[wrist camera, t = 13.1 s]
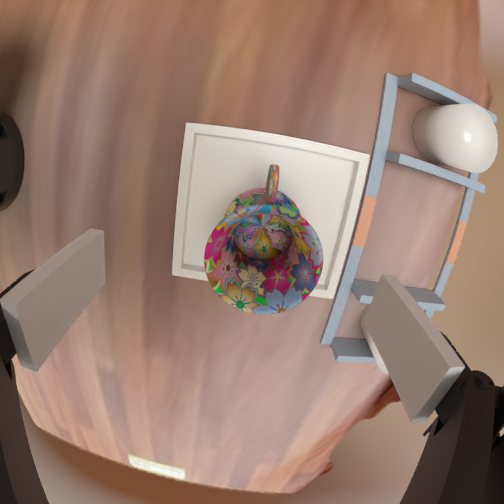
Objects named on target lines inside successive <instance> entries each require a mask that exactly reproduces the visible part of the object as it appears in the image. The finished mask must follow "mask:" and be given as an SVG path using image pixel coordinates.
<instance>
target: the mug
mask: <svg viewBox="0 0 504 504" xmlns="http://www.w3.org/2000/svg"><path fill="white" fill-rule="evenodd" d="M278 183H279V166H278V165H275V164H271V165H270V167H269V171H268V176H267V182H266V188H256V189H251V190H248V191H246V192H244V193H242V194H240V195H239V196H238V197H236V198H235V199H234V200H233V201H232V202H231V204H230V205H229V207H228V208H227V210H226V212H225V215H224V219H223V220H222V221H220V223H219V224H218V225H217V226H216V227H215V229H214V230H213V231H212V233H211V235H210V237H209V239H208V241H207V244H206V248H205V253H204V266H205V271H206V275H207V278H208V280H209V282H210V284H211V286H212V288H213V289H214V291H215V292H216V293H217V294H218V295H219V296H220V297H221V298H222V299H223V300H224V301H225V302H226V303H228V304H229V305H231V306H233V307H235V308H236V309H239V310H241V311H244V312H248V313H252V314H274V313H279V312H283V311H286V310H288V309H290V308H293V307H294V306H296V305H298V304H299V303H301V302H302V301H303V300H304V299H306V298H307V297H308V296H309V295H310V293H311V292H312V291H313V290H314V288H315V286H316V285H317V283H318V281H319V279H320V276H321V273H322V269H323V249H322V245H321V242H320V239H319V237H318V235H317V233H316V232H315V230H314V229H313V227H312V226H311V225H310V224H309V223H308V222H307V221H306V220H305V219H304V218H303V217H302V216H301V214H300V211H299V209H298V207H297V206H296V204H295V203H294V202H293V201H292V200H291V199H290V198H289V197H288V196H287V195H285V194H284V193H282V192H280V191H278Z"/></svg>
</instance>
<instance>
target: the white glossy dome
mask: <svg viewBox="0 0 504 504" xmlns="http://www.w3.org/2000/svg"><path fill="white" fill-rule="evenodd" d="M413 139H414V142H415V145H416V147H417V149H418V151H419V152H420V154H421V155H422V156H423V157H424V158H426V159H427V160H429V161H431V162H435V163H439V164H443V165H447V166H451V167H455V168H458V169H462V170H466V171H469V172H473V173H480V172H483V171H485V170H487V169H488V168H489V167H490V166H491V165H492V163H493V161H494V159H495V157H496V154H497V148H498V137H497V131H496V128H495V125H494V122H493V120H492V118H491V117H490V115H489V114H488V113H487V112H486V111H485V110H484V109H483V108H482V107H480V106H478V105H476V104H453V105H439V106H429V107H425V108H423V109H422V110H421V111H420V112H419V113H418V114H417V116H416V117H415V120H414V123H413Z"/></svg>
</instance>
